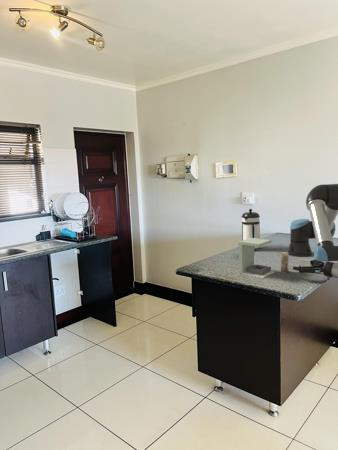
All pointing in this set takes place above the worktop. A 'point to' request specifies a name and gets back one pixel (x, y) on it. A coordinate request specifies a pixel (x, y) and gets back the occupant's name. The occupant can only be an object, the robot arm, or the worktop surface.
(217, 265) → the worktop surface
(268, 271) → the awning socket
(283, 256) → the peg
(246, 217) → the coffee press
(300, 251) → the robot arm
